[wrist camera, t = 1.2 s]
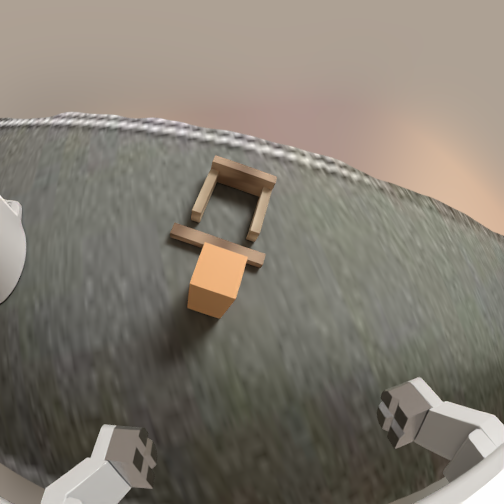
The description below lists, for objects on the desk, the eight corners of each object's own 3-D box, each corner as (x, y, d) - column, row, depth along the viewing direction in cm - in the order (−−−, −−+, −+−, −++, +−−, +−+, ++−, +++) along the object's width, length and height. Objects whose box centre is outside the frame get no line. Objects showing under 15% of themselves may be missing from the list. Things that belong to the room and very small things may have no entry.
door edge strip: (170, 237, 35) (170, 232, 34) (174, 227, 35) (174, 222, 34) (260, 268, 36) (262, 264, 35) (263, 257, 37) (265, 254, 36)
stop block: (187, 307, 32) (189, 283, 23) (197, 277, 34) (204, 242, 25) (220, 318, 32) (235, 298, 23) (229, 287, 34) (248, 256, 25)
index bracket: (190, 219, 36) (192, 203, 33) (211, 173, 40) (215, 155, 36) (254, 242, 37) (262, 227, 34) (268, 193, 41) (277, 177, 37)
